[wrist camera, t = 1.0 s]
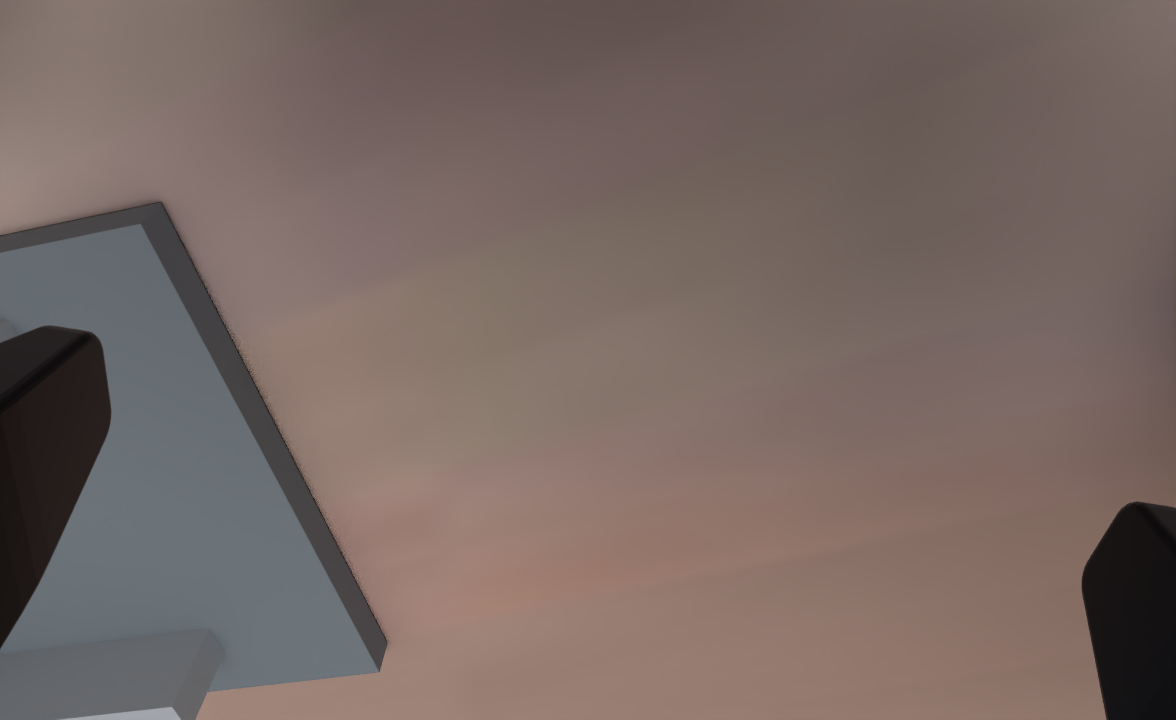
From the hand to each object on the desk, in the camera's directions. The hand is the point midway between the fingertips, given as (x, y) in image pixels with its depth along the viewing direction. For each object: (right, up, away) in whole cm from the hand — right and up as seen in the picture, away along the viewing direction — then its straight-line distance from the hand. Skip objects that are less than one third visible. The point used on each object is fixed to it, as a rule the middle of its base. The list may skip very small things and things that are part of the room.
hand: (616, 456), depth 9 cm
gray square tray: (-14, -3, +17) cm, 23 cm away
